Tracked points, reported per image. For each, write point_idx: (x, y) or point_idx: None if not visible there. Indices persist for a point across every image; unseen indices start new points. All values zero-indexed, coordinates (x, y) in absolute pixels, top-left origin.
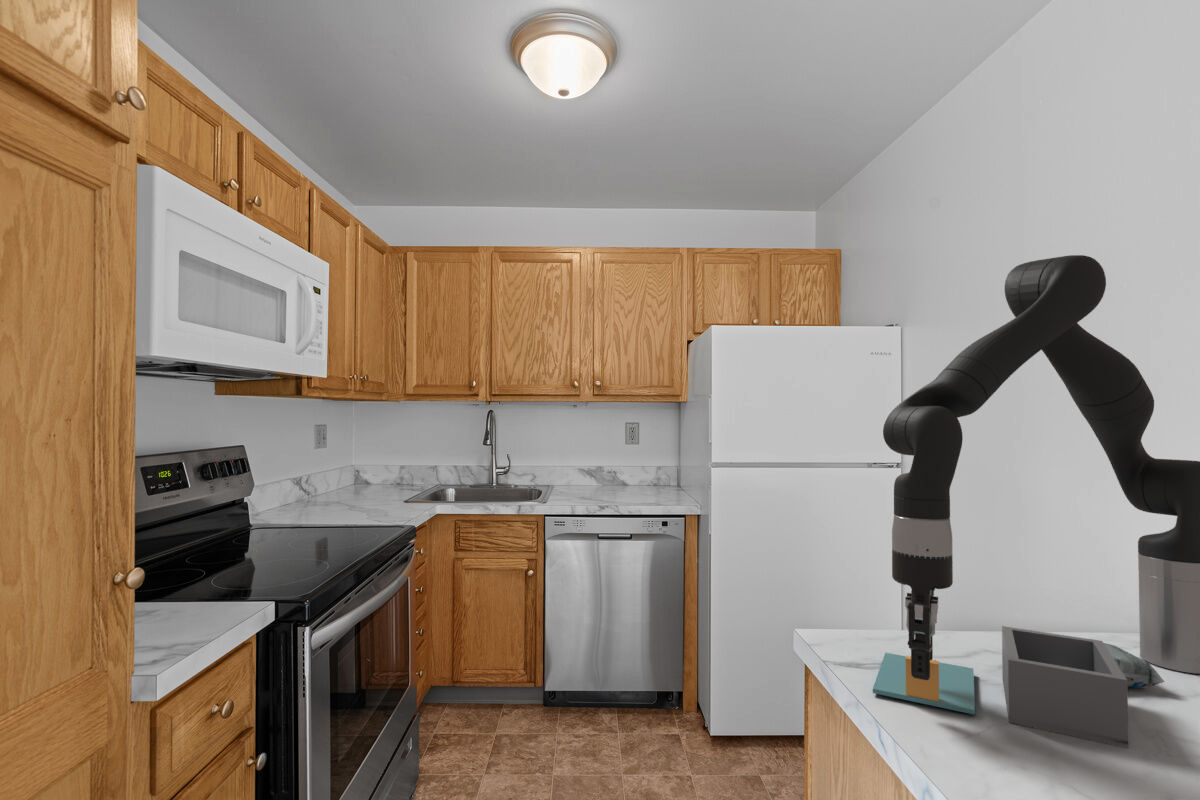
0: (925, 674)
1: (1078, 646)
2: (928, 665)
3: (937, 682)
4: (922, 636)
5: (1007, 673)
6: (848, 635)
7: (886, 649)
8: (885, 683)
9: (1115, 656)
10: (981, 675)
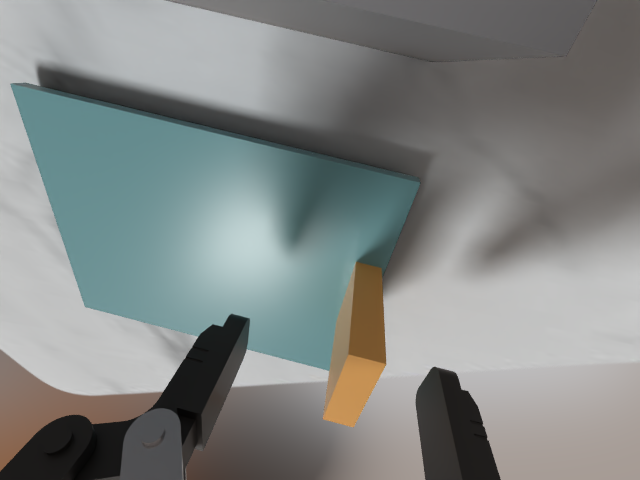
0: (472, 402)
1: None
2: (468, 424)
3: (382, 310)
4: (208, 425)
5: (365, 31)
6: (9, 332)
7: (28, 280)
8: (300, 348)
9: None
10: (12, 48)
